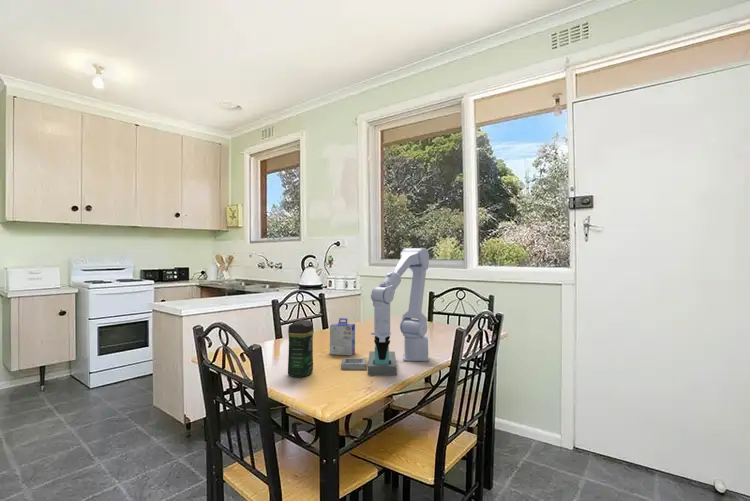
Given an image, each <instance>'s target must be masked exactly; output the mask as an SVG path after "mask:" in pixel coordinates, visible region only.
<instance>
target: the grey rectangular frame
mask: <svg viewBox="0 0 750 501" xmlns="http://www.w3.org/2000/svg"><path fill="white" fill-rule="evenodd" d="M366 368H367V358H366V357H342V360H341V363H340V370H345V371H346V370H352V371H353V370H357V371H358V370H359V371H361V370H362V371H363V370H364V371H365V370H367V369H366Z"/></svg>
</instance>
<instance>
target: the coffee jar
mask: <svg viewBox="0 0 750 501" xmlns="http://www.w3.org/2000/svg"><path fill="white" fill-rule="evenodd" d="M287 329H288V330H287V332H288V333H287V335H288V355H287V356H288V359H287V360H288V361H287V374H288V376H290V377H293V378H300V377H307V376H309V375H310V374H311V373H312V372H313V371H314V355H313V354H314V353H313V352H314V351H313V350H314V349H313V348H314V347H313V346H314V344H313V343H314V340H313V339H314V323H313V322H312V321H311V320H309V319H299V320H298V321H295V322H293V323H291V324H289V325H288V328H287Z"/></svg>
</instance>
